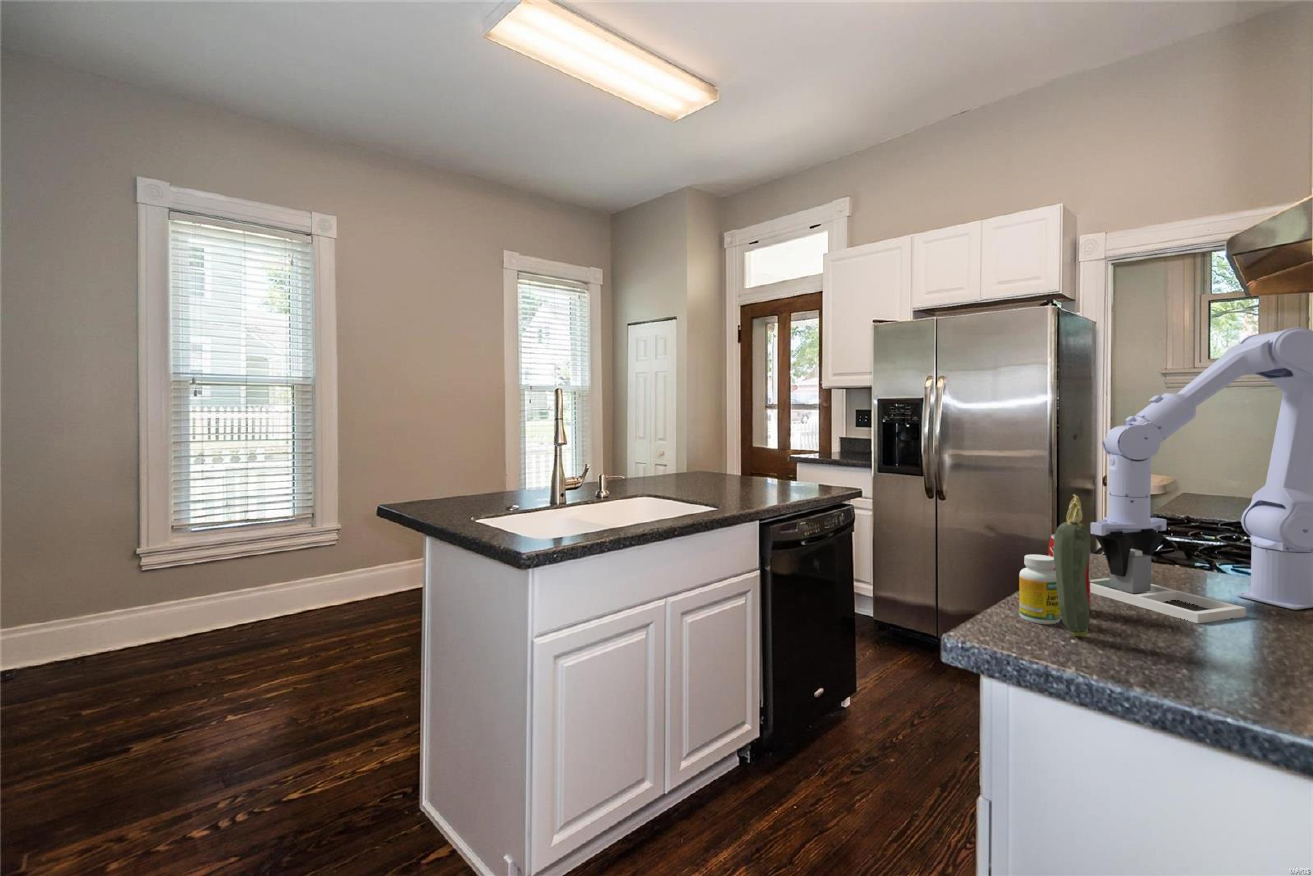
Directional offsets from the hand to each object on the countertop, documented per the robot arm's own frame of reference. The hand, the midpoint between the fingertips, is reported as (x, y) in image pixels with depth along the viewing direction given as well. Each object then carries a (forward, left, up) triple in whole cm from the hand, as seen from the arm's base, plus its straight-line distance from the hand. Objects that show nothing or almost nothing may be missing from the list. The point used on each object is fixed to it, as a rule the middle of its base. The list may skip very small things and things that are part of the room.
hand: (1128, 574), depth 105 cm
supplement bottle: (+25, +6, -4) cm, 26 cm away
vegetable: (+27, +13, -4) cm, 30 cm away
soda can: (+17, +4, -4) cm, 18 cm away
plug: (0, 0, -2) cm, 3 cm away
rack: (0, +5, -3) cm, 6 cm away
